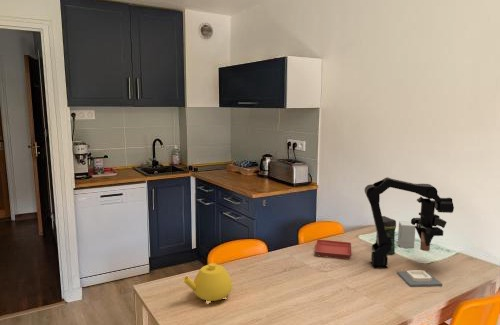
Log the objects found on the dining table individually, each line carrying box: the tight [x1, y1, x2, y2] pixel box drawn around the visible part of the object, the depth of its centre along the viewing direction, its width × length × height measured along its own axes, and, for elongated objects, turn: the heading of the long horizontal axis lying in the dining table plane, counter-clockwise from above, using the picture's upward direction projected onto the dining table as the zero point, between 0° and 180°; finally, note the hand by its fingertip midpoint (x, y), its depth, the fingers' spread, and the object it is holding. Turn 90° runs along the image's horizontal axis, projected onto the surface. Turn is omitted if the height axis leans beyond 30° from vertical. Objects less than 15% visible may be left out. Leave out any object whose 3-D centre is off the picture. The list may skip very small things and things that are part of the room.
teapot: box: [182, 262, 233, 302], centre depth 151 cm, size 20×16×14 cm
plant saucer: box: [314, 239, 353, 259], centre depth 200 cm, size 18×18×3 cm
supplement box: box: [397, 221, 416, 249], centre depth 208 cm, size 7×7×13 cm
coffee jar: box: [375, 215, 397, 256], centre depth 199 cm, size 10×8×19 cm
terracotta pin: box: [419, 232, 431, 252], centre depth 178 cm, size 4×4×8 cm
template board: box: [396, 269, 443, 288], centre depth 168 cm, size 14×13×2 cm
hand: (425, 244), depth 178 cm, fingers closed on terracotta pin, 4 cm apart
